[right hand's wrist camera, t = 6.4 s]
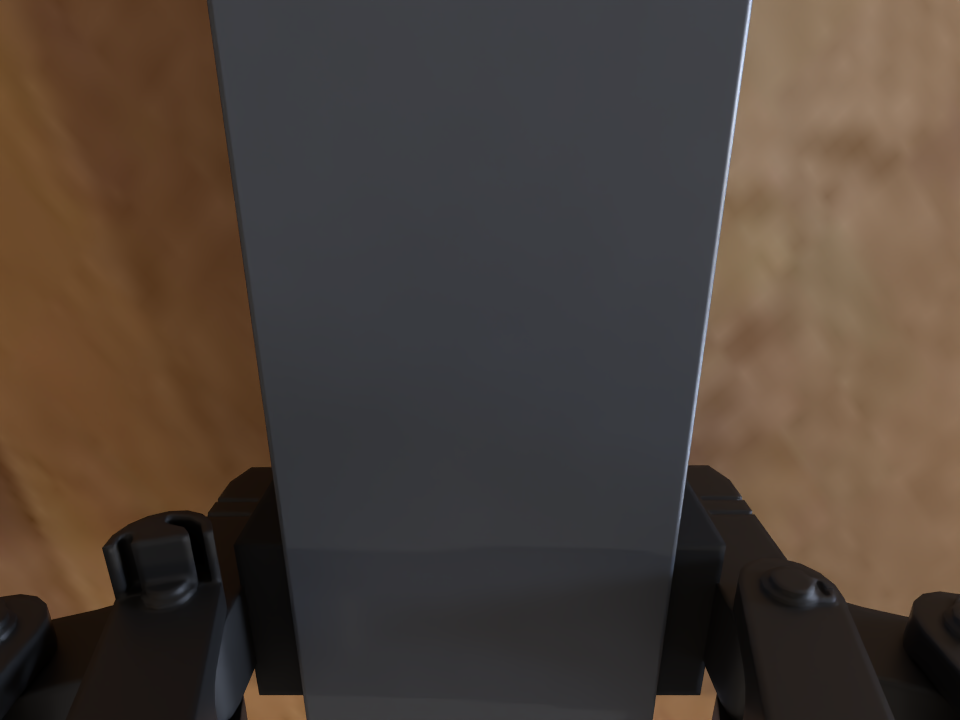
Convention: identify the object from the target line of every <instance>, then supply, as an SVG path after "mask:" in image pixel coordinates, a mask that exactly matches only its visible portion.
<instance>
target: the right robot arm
mask: <svg viewBox="0 0 960 720" xmlns="http://www.w3.org/2000/svg"><path fill="white" fill-rule="evenodd" d="M102 549H103V553H104V557H105V561H106V564H107V568H108V572H109V576H110V579H111V583H112V587H113V591H114V594H115V598H116V600H115V602H114V605H112V606H109V607H105V608H102V609H98V610H94V611H89V612H85V613H80V614H76V615H71V616H67V617H62V618H58V619H53V620H51V617H50V614H49V610H48V607H47V604H46V603H45V602H43V601H42V600H41V599H40V598H38V597H37V596H30V595H23V594H18V595H11V596H4V597H0V720H247V713H246V706H245V701H244V692H245V690H246V687H247V685H248V683H249V680H250V678H251V676H252V673H253V671H254V669H255V672H256V678H257V684H258V689H259V695H303V689H302V682H301V674H300V667H299V660H298V653H297V646H296V638H295V631H294V624H293V617H292V610H291V602H290V595H289V588H288V581H287V574H286V566H285V559H284V552H283V545H282V538H281V530H280V523H279V516H278V509H277V502H276V494H275V487H274V480H273V473H272V467H251V468H250V469H248V470H247V471H246V472H244V473H243V474H241V475H240V476H238V477H237V478H235V479H234V480H232V481H231V482H230V483H229V485H228V486H227V487H226V489H225V490H224V491H223V493H222V494H221V496H220V497H219V498H218V502H216V503H215V504H214V505H213V507H212V508H211V510H210V511H209V512H208V517H205V516H204V515H203V514H200V513H196V512H192V511H168V512H163V513H159V514H155V515H151V516H147V517H145V518H143V519H140V520H138V521H135V522H133V523H131V524H129V525H127V526H126V527H124V528H123V529H121V530H120V531H118V532H117V533H115V534H114V535H112V537H111V538H110V539H109V540H108V541H107V543H106V544H105V545H104V546H103V548H102ZM705 666H706V669H707V671H708V674H709V676H710V678H711V681H712V683H713V685H714V688H715V690H716V692H717V695H716V701H715V706H714V711H713V717H712V720H960V594H954V593H947V592H940V591H939V592H933V593H926V594H922V595H921V596H920V597H919V598H917V599H916V600H915V601H914V602H913V606H912V609H911V612H910V615H909V617H905V616H901V615H896V614H891V613H887V612H882V611H878V610H873V609H869V608H864V607H860V606H857V605H853V604H850V603H846V601H845V599H844V597H843V596H842V594H841V593H840V591H839V590H838V589H837V587H836V586H835V585H834V584H833V583H832V582H831V581H829V580H828V579H827V578H825V577H824V576H823V575H822V574H820V573H819V572H817V571H815V570H813V569H810V568H808V567H806V566H804V565H802V564H800V563H796V562H792V561H788V560H787V559H786V557H785V556H784V555H783V553H782V552H781V550H780V549H779V548H778V546H777V545H776V544H775V542H774V541H773V539H772V538H771V537H770V535H769V534H768V532H767V531H766V530H765V528H764V527H763V526H762V524H761V523H760V521H759V520H758V519H757V517H756V516H755V514H752V510H751V509H750V508H749V506H748V505H747V503H746V502H745V501H744V500H742V496H741V495H740V494H739V492H738V491H737V490H736V488H735V487H734V485H733V484H732V483H731V481H730V480H729V479H727V478H726V477H724V476H723V475H722V474H720V473H719V472H717V471H716V470H714V469H713V468H711V467H710V466H708V465H688V469H687V476H686V483H685V490H684V498H683V505H682V512H681V519H680V526H679V534H678V541H677V548H676V555H675V562H674V570H673V577H672V584H671V591H670V598H669V606H668V613H667V620H666V627H665V634H664V642H663V649H662V656H661V663H660V670H659V678H658V685H657V692H656V695H700V693H701V687H702V681H703V676H704V670H705Z"/></svg>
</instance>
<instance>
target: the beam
mask: <svg viewBox="0 0 960 720" xmlns="http://www.w3.org/2000/svg"><path fill="white" fill-rule="evenodd" d="M752 1H753V0H207V5H208V12H209V19H210V26H211V33H212V41H213V48H214V55H215V62H216V69H217V77H218V84H219V91H220V98H221V105H222V113H223V120H224V127H225V134H226V141H227V149H228V156H229V163H230V170H231V177H232V185H233V192H234V199H235V206H236V213H237V221H238V228H239V235H240V242H241V249H242V257H243V264H244V271H245V278H246V285H247V293H248V300H249V307H250V314H251V321H252V329H253V336H254V343H255V350H256V358H257V365H258V372H259V379H260V386H261V394H262V401H263V408H264V415H265V422H266V430H267V437H268V444H269V451H270V458H271V466H272V473H273V480H274V487H275V494H276V502H277V509H278V516H279V523H280V530H281V538H282V545H283V552H284V559H285V566H286V574H287V581H288V588H289V595H290V602H291V610H292V617H293V624H294V631H295V638H296V646H297V653H298V660H299V667H300V674H301V682H302V689H303V696H304V703H305V711H306V718H307V720H653V714H654V706H655V699H656V692H657V685H658V678H659V670H660V663H661V656H662V649H663V642H664V634H665V627H666V620H667V613H668V606H669V598H670V591H671V584H672V577H673V570H674V562H675V555H676V548H677V541H678V534H679V526H680V519H681V512H682V505H683V498H684V490H685V483H686V476H687V469H688V462H689V454H690V447H691V440H692V433H693V426H694V418H695V411H696V404H697V397H698V390H699V382H700V375H701V368H702V361H703V353H704V346H705V339H706V332H707V325H708V317H709V310H710V303H711V296H712V289H713V281H714V274H715V267H716V260H717V253H718V245H719V238H720V231H721V224H722V217H723V209H724V202H725V195H726V188H727V181H728V173H729V166H730V159H731V152H732V145H733V137H734V130H735V123H736V116H737V109H738V101H739V94H740V87H741V80H742V73H743V65H744V58H745V51H746V44H747V37H748V29H749V22H750V15H751V8H752Z"/></svg>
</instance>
